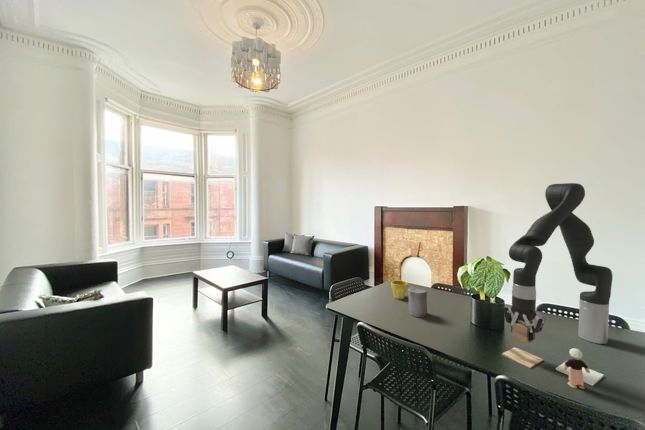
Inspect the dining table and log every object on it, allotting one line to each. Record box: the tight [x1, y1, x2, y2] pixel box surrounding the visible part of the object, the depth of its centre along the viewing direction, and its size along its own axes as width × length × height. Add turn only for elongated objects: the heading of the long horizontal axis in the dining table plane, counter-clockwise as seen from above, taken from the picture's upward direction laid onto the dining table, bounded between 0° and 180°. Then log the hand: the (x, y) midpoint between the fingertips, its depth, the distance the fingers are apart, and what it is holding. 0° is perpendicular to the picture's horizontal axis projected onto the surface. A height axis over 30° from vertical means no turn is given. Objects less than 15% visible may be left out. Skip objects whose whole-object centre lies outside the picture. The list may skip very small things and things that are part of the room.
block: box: [511, 320, 533, 345], centre depth 106 cm, size 5×5×6 cm
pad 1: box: [501, 346, 544, 369], centre depth 107 cm, size 10×10×1 cm
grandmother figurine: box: [563, 347, 590, 390], centre depth 90 cm, size 8×4×13 cm, turn 92°
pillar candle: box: [407, 286, 428, 318], centre depth 149 cm, size 10×10×15 cm
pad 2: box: [555, 359, 605, 387], centre depth 97 cm, size 10×10×1 cm
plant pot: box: [390, 279, 409, 300], centre depth 175 cm, size 10×10×10 cm
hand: (522, 337), depth 106 cm, fingers closed on block, 5 cm apart
